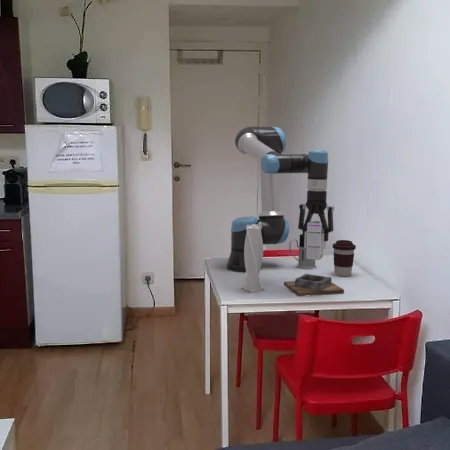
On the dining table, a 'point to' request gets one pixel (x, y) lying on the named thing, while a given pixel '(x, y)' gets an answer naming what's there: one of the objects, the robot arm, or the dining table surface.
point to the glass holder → (303, 256)
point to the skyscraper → (253, 258)
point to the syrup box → (314, 240)
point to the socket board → (313, 292)
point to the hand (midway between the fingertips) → (314, 248)
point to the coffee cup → (343, 257)
